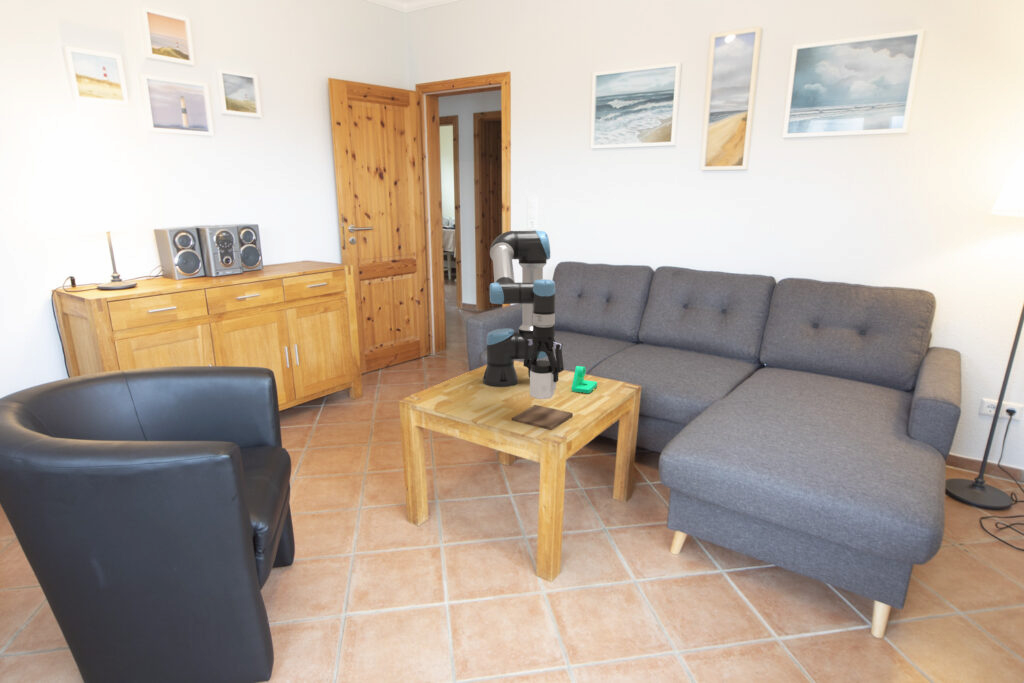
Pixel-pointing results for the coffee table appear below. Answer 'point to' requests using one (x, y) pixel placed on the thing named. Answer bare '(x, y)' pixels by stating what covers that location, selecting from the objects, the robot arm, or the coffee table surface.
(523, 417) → the plinth
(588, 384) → the camera mount
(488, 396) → the coffee table surface
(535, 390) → the jar
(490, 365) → the robot arm
